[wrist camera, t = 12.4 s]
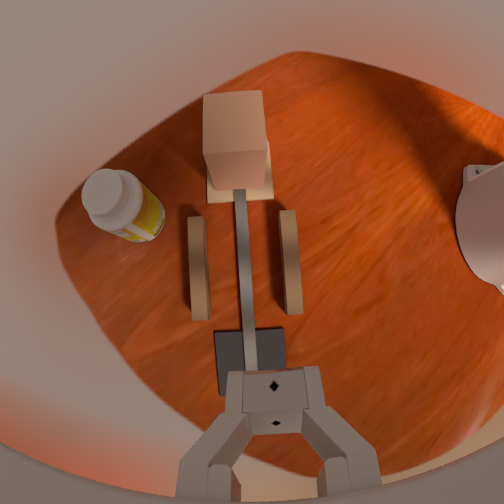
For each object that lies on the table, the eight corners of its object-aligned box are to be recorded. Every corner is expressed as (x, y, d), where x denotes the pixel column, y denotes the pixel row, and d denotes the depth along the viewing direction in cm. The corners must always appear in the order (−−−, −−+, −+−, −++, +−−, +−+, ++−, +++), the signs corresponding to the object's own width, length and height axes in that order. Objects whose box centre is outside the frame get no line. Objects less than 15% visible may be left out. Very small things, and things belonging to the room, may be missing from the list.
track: (303, 385, 29) (307, 392, 27) (203, 391, 29) (199, 399, 27) (282, 133, 33) (284, 122, 30) (191, 139, 33) (187, 129, 30)
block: (263, 187, 31) (267, 149, 22) (216, 190, 31) (202, 154, 22) (259, 138, 32) (261, 90, 23) (214, 141, 32) (203, 94, 23)
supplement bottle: (155, 186, 32) (120, 147, 22) (174, 229, 31) (141, 202, 21) (114, 210, 32) (67, 180, 22) (130, 253, 31) (83, 237, 21)
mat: (273, 199, 32) (273, 198, 31) (208, 203, 32) (207, 202, 31) (268, 141, 33) (268, 140, 32) (206, 145, 33) (206, 144, 32)
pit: (286, 391, 29) (287, 392, 29) (220, 395, 29) (220, 396, 29) (283, 328, 30) (283, 328, 30) (214, 332, 30) (214, 332, 30)
